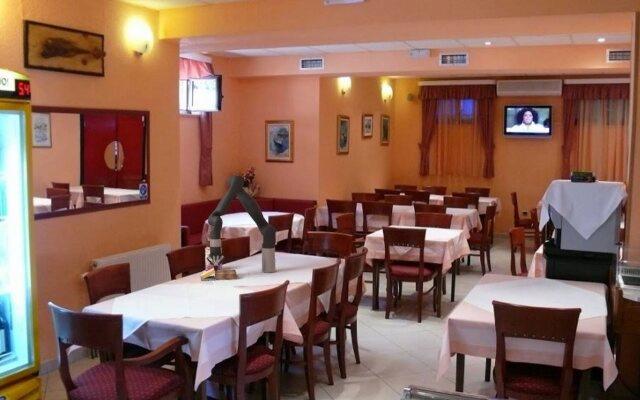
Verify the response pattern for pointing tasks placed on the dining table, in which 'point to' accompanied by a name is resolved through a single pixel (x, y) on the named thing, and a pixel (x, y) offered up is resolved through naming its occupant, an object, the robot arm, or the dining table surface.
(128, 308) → the dining table surface
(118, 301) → the dining table surface
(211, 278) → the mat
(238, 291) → the dining table surface
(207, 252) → the candy bar box
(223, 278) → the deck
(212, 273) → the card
